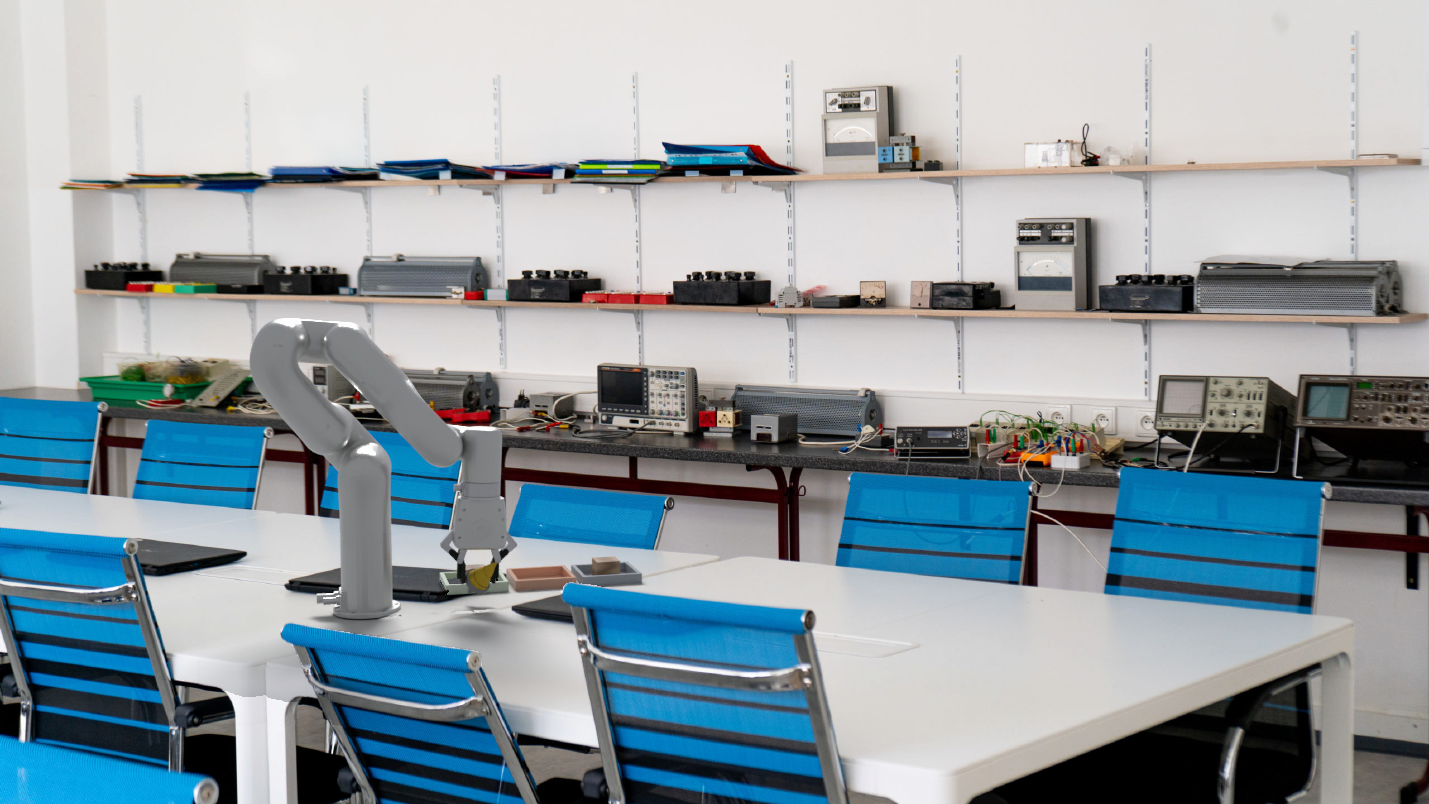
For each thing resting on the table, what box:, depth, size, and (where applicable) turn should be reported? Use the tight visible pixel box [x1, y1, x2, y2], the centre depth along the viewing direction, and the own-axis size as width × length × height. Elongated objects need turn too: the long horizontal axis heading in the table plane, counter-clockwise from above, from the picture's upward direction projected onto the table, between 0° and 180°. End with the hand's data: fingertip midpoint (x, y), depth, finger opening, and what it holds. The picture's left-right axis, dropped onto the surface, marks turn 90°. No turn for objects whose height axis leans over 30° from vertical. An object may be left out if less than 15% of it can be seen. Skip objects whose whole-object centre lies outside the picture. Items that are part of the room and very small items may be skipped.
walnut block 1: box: [466, 563, 486, 573], centre depth 273 cm, size 5×5×4 cm
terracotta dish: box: [505, 564, 577, 592], centre depth 278 cm, size 13×13×2 cm
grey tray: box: [570, 561, 643, 586], centre depth 282 cm, size 13×13×2 cm
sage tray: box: [439, 568, 510, 596], centre depth 273 cm, size 13×13×2 cm
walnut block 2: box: [591, 556, 621, 576], centre depth 282 cm, size 5×5×4 cm
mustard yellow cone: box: [465, 562, 497, 595], centre depth 257 cm, size 5×5×10 cm
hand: (477, 581), depth 258 cm, fingers closed on mustard yellow cone, 5 cm apart
